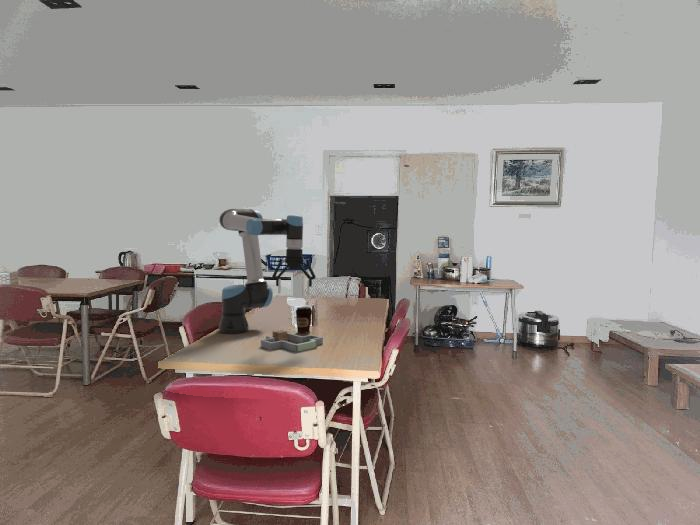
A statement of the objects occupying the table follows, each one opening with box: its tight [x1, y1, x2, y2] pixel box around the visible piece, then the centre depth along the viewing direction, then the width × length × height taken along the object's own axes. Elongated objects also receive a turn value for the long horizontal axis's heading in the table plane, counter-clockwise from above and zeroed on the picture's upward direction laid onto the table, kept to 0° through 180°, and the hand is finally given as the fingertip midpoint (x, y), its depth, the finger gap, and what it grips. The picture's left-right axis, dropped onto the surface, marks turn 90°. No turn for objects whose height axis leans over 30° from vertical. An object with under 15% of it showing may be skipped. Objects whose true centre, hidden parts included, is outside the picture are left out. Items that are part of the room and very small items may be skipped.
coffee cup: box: [295, 306, 313, 335], centre depth 244 cm, size 9×8×13 cm
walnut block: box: [272, 329, 288, 342], centre depth 226 cm, size 5×5×5 cm
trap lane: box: [260, 332, 324, 353], centre depth 220 cm, size 23×24×3 cm
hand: (293, 293), depth 225 cm, fingers open, 13 cm apart
